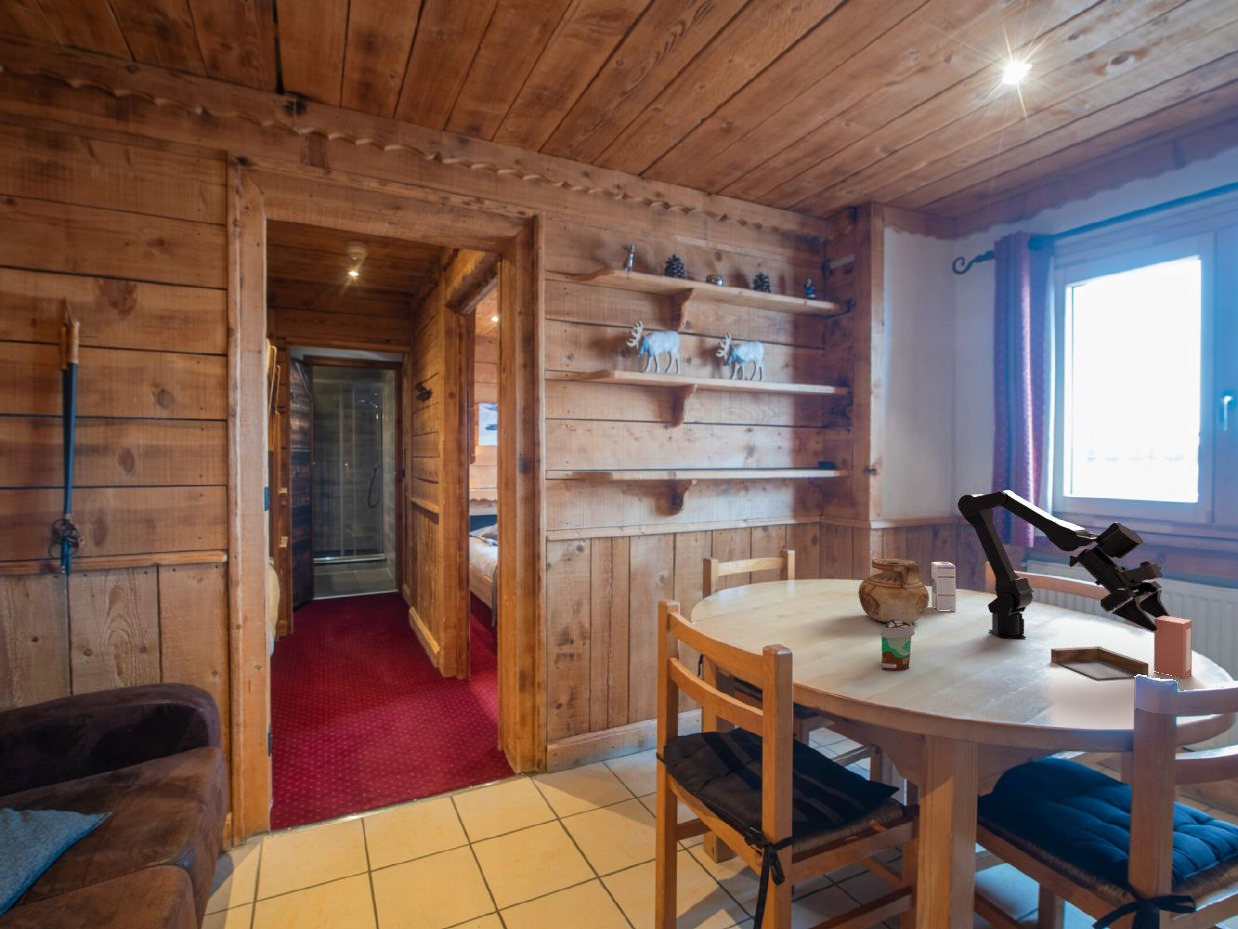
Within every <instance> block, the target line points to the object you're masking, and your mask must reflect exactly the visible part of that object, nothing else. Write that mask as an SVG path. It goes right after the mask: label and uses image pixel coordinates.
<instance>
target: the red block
mask: <svg viewBox="0 0 1238 929" xmlns="http://www.w3.org/2000/svg"><path fill="white" fill-rule="evenodd" d="M1153 623H1154V625H1155V626H1156V627H1157V630H1156V631H1154V637H1153V639H1154V642H1153V643H1154V644H1153V645H1154V646H1153V648H1154V650H1153V652H1154V653H1153V654H1154V655H1153V658H1154V660H1153V663H1154V664H1153V672H1154V671H1156V672H1159V673H1163V674H1169V675H1172V676H1176V677H1179V678H1178V679H1181V678H1184V677H1186V676H1188V675H1190V674H1192V668H1193V667H1192V665H1193V664H1192V663H1193V662H1192V660H1193V658H1192V657H1193V655H1192V652H1193V650H1192V649H1193V648H1192V647H1193V646H1192V644H1193V639H1192V638H1193V620H1192V619H1188V618H1187V619H1185V618H1179V617H1175V616H1170V617H1169V616H1161V617H1158V618H1155V617H1154V622H1153ZM1159 673H1158V674H1159ZM1163 674H1162V675H1163ZM1172 676H1171V677H1172ZM1190 676H1191V675H1190ZM1176 677H1175V678H1176ZM1188 677H1189V676H1188ZM1186 678H1187V677H1186ZM1184 679H1185V678H1184Z"/></svg>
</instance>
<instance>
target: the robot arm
mask: <svg viewBox="0 0 1238 929" xmlns="http://www.w3.org/2000/svg"><path fill="white" fill-rule="evenodd" d="M999 507H1002V508H1004V510H1007V511H1008V512H1010V513H1012V514H1014V515H1015V516H1016V517H1018V518H1020V519H1021V520H1023V521H1025V522H1027V524H1028V523H1029V525H1032V526H1033V527H1035V528H1036V529H1038V530H1039V531H1041V532H1042V533H1043V534H1044V535H1045V536H1046V538H1047V539H1048V541H1050V542H1051V543H1052V544H1053V545H1055V546H1056V547H1057V548H1058V549H1060V551H1064V552H1068V553H1069V552H1075V551H1080V550H1081V551H1080V552H1079V553H1078V554H1077V555H1075V554H1073V555H1069V556H1068V558H1069V564H1068V566H1069V567H1070V568H1072V567H1073V568H1074V567H1077V566H1079V565H1080V566H1081V567H1083V569H1084V570H1085V571H1087V572H1088V573H1089V575H1090V576H1092V578H1094V579H1095V580H1096V581H1094V584H1095V585H1096V586H1098V587H1099V586H1102V587H1103V588H1104V589H1105V590H1106V591H1107V592H1108V593H1109V594H1107V595H1105V596H1104V597H1103V598H1102V599H1100V607H1101V608H1102V609H1103V610H1104V611H1105V612H1106V613H1110V612H1111V615H1115V616H1117V617H1120V618H1122V619H1124V620H1127V621H1129V622H1131V623H1134V624H1135V625H1138V626H1140V627H1142V628H1145V629H1147V630H1148V631H1150V632H1154V631H1156V630H1157V627H1156V626H1155V625H1154V622H1153V620H1152V619H1151V618H1150V617H1149V616H1148V615H1150V616H1152V617H1154V619H1155V618H1158V617H1161V616H1169V617H1171V616H1170V614H1169V613H1168V612H1169V611H1168V610H1167V609H1166V608H1165V605H1164V604H1163V603H1162V599H1161V595H1162V593H1163V591H1162V588H1163V587H1162V586H1161V585H1160V584H1159V583H1158V582H1157V581H1156V580H1155V579H1158V578H1163V576H1164V575H1163V574H1162V571H1161V570H1162V566H1160V565H1158V563H1157V562H1155V563H1154V562H1153V561H1151V560H1145V561H1143V562H1140V564H1139V567H1136V568H1132V569H1129V568H1128V567H1127V566H1125V565H1122V566H1120V565H1119V564H1118V563H1116V562H1115V561H1114V559H1115V558H1118V559H1124V558H1125V557H1127V555H1129V554H1130V553H1132V552H1133V551H1135V550H1136V549H1137V548H1138V547H1140V546H1141V545H1142V544H1143V543H1144V541H1143V540H1144V539H1143V538H1142V537H1141V536H1140V535H1139V534H1138V533H1137V532H1135V530H1132V529H1130V528H1129V527H1127V526H1125V525H1123V524H1121V523H1120V521H1116V522H1113V523H1111V524H1110V525H1109V526H1108V528H1107V529H1105V530H1104V531H1103V532H1101V533H1100V534H1099V533H1097V534H1096V533H1092V532H1089V531H1088V530H1087V529H1085V528H1084V527H1081V526H1079V525H1076V524H1074V523H1072V522H1068V521H1065V520H1061V519H1058V518H1056V517H1054V516H1052V515H1051V514H1049V513H1048V512H1046V511H1044V510H1042V509H1040V508H1039V507H1037V506H1035V505H1033V504H1032V503H1031V502H1029V501H1027V500H1025V499H1023V498H1022V497H1021V496H1018V495H1017V494H1015V493H1014V492H1013V491H1011V490H1000V491H997V492H992V493H987V494H984V493H983V494H982V493H974V494H965V495H964V494H963V495H962V496H961V497H960V498H959V500H958V502H957V508H958V510H959V512H960V514H961V515H962V517H963V518H964V520H965V521H966V522H967V523H969V525H971V527H973V529H974V530H975V534H976V536H977V538H978V541H979V542H980V545H981V547H982V550H983V552H984V554H985V557H986V559H987V561H988V564H989V565H990V569H991V571H992V573H993V575H994V577H995V582H994V583H995V584H994V590H995V594H996V598H995V599H993V600H992V601H991V602H989V603H988V604H987V609H988V610H989V613H991V622H992V623H991V629H988V632H989V633H991V634H993V635H994V636H997V637H998V638H1001V639H1026V635H1024V634H1025V619H1024V618H1023V613H1024V612H1025V610H1026V609H1027V607H1028V606H1030V604H1031V603H1032V602H1033V600H1034V596H1033V593H1034V592H1035V591H1034V590H1033V589H1032V587H1031V586H1030V583H1029V579H1028V578H1027V577H1026V576H1025V577H1020V576H1019V575H1018V574H1017V573H1016V572H1015V570H1014V568H1013V565H1012V563H1011V561H1010V559H1009V556H1008V554H1007V552H1006V550H1005V548H1004V545H1003V543H1002V541H1001V539H1000V537H999V534H998V532H997V529H996V527H995V525H994V522H993V521H994V510H993V509H995V508H999ZM1093 545H1095V546H1093ZM1089 546H1093V548H1091V549H1089V548H1088V547H1089Z"/></svg>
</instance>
